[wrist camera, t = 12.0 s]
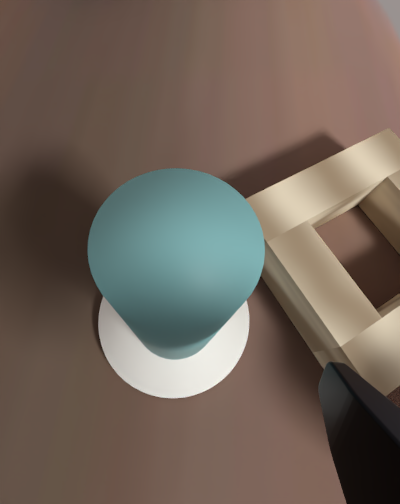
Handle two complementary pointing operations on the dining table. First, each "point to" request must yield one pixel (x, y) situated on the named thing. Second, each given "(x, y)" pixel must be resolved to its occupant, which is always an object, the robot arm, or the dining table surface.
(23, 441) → the dining table surface
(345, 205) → the pocket collar
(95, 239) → the dowel
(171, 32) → the dining table surface
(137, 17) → the dining table surface
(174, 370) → the pad
